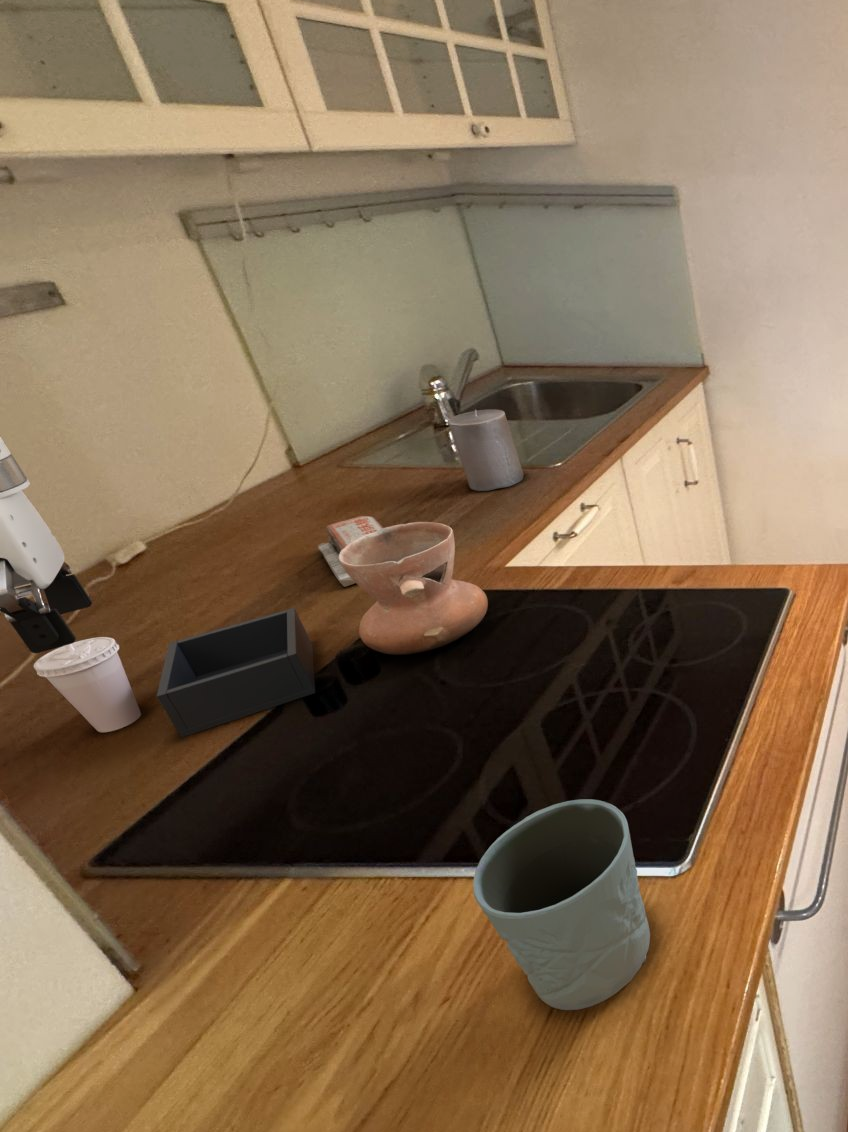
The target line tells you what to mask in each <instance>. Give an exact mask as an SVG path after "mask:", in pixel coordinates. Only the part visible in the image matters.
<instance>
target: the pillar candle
mask: <svg viewBox="0 0 848 1132" xmlns="http://www.w3.org/2000/svg"><path fill="white" fill-rule="evenodd" d="M447 422H448V427H449V430H450V432H451V436H452V439H453V440H454V444H455V448H456V450H457V454H458V456H459V459H460V462H461V465H462V468H463V471H464V474H465V477H466V480H467V483H468V487H469V488H470V489H471V490H473V491H477V492H488V491H489V492H490V491H494V490H498V489H504V488H508V487H512V486H514V485H517V484H518V483H520V482H522V480H523V479H524V476H525V474H524V471H523V468H522V465H521V462H520V459H519V455H518V451H517V449H516V445H515V442H514V439H513V436H512V433H511V428H510V426H509V423H508V420H507V416H506V413H505V411H504V410H502V409H495V408H494V409H479V410H477V409H474V410H472V411H469V412H467V411H466V412H463V413H460V414H457V415H454V416H452V417H451V418H449V420H448V421H447Z"/></svg>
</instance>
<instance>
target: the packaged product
mask: <svg viewBox="0 0 848 1132" xmlns="http://www.w3.org/2000/svg"><path fill="white" fill-rule="evenodd" d="M387 527H388V526H386V527H385V528H387ZM383 528H384V527H383V526H382V525H381V523H379V521H377V519H376V518H375V517H373V516H369V515H368V516H367V515H359V516H357V517H352V518H349V519H346V520H345V519H344V520H342V521H338V522H335V523H331V524H329V525H327V526H326V533H327V538H328V540H329V541H328V542H322V543H320V544H318V545H317V548H318V550H319V551H320V553H321V554H322V555H323V557H324V560H325V561H326V563H327V564H328V566H329V568H330V570H331V572H332V573H333V574H334V576H335V578H336V579H337V581H338V582H339V583H340V584H341V585H342V586H343V587H344V588H346V587H349V586H351V585H354V584H356V583H355V581H354V580H353V579H352V578H351V577H350V576H349V575H348V574H347V572H346V571H345V570H344V568H343V567H342V565H341V563H340V561H339V553H340V552H341V550H342V549H344V548H345V547H346V546H347V545H348V544H350V543H351V542H353V541H355V540H357V539H358V538H360V537H362V536H364V535H366V534H370V533H373V532H376V531H379V530H381V529H383Z"/></svg>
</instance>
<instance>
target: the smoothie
mask: <svg viewBox="0 0 848 1132" xmlns="http://www.w3.org/2000/svg"><path fill="white" fill-rule="evenodd" d="M119 650H120V645H119V644H118V643H117V642H116V640H115V639H114V638H113V637H108V636H99V637H91V638H86V639H81V640H78V641H75V642H74V643H72V644H69V645H65V646H61V647H58V648H54V649H52V650H50V651H49V652H48V653H47V652H46V653H45V654H44V655H42V656H41V657H39V658H38V659H36V661H35V662H34V663H33V669H34V670H35V671H36V675H38V676H39V677H41V678H46V679H47V680H48V682H50V684H51V685H53V687H54V688H55V689H56V690H57V691H58V692H59V693H60V694H61V695H62V696H63V697H64V698H65V699H66V700H67V701H68V702H69V703H70V704H71V706H73V707H74V709H75V710H76V711H78V713H79V714H80V715H82V717H83V718H84V719H85V720H86V721H87V722H88V723H89V724H90V725H91V726H92V727H93V729H95V730H96V731H97V732H99V733H108V732H109V733H110V732H114V731H117V730H120V729H123V728H124V727H125V728H126V727H128V726H130V725H132V724H133V723H135V722H136V721H137V720H139V719H140V718H141V716H142V713H141V710H140V707H139V705H138V702H137V700H136V696H135V694H134V692H133V689H132V687H131V684H130V681H129V679H128V676H127V674H126V671H125V669H124V665H123V662H122V659H121V658H120V656H119V653H118V651H119Z"/></svg>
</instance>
